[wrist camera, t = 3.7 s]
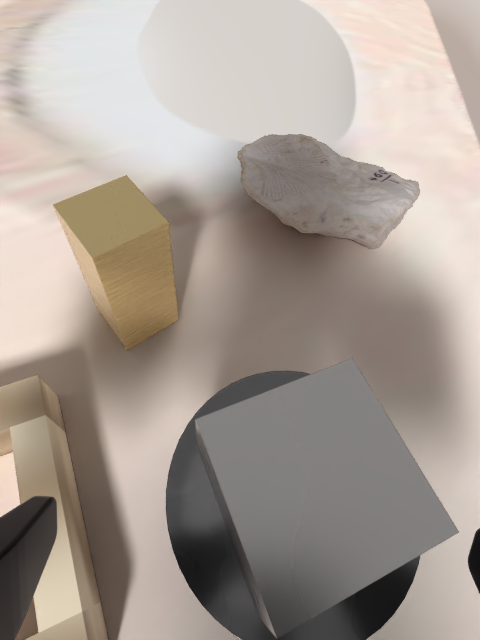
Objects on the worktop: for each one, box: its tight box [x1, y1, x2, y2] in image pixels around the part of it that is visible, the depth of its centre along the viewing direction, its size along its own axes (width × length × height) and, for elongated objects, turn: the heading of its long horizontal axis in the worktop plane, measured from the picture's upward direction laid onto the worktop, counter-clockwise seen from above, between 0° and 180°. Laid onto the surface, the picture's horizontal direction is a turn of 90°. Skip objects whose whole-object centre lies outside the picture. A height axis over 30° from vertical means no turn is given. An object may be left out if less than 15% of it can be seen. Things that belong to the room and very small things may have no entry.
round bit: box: [166, 359, 459, 640], centre depth 10 cm, size 4×4×12 cm
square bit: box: [53, 175, 178, 350], centre depth 17 cm, size 3×3×7 cm
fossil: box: [237, 134, 420, 249], centre depth 23 cm, size 9×6×10 cm
